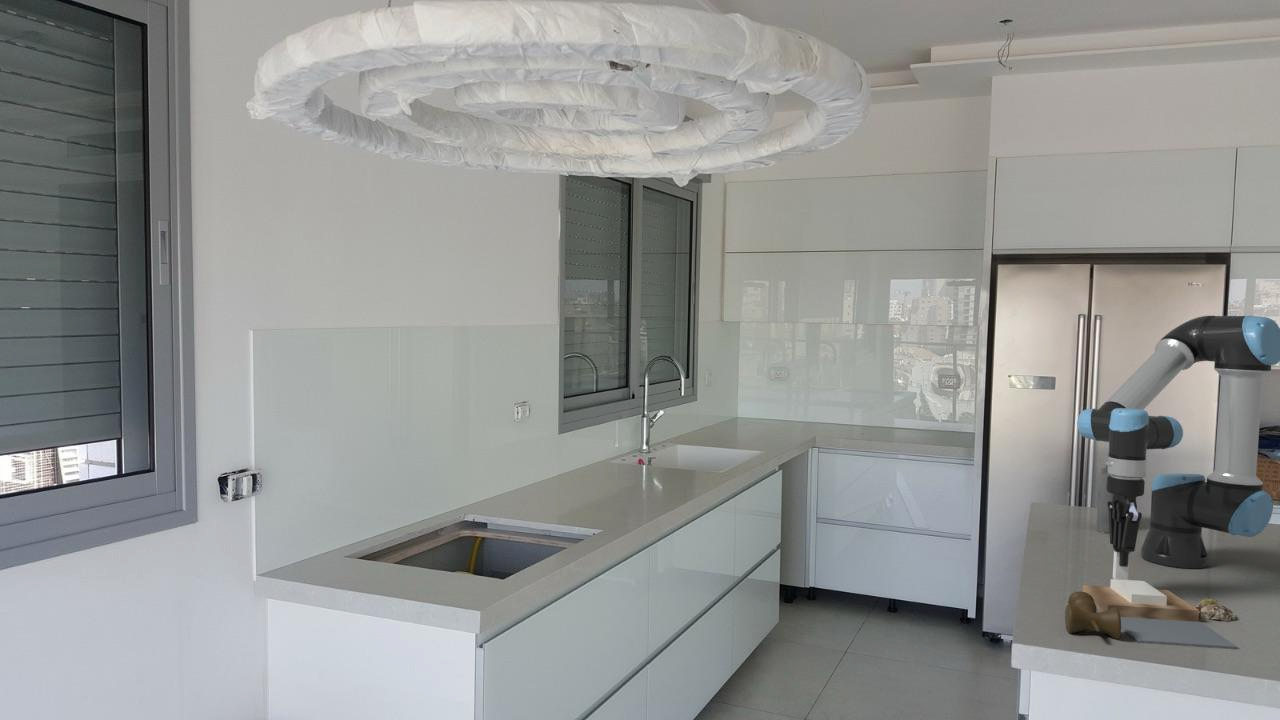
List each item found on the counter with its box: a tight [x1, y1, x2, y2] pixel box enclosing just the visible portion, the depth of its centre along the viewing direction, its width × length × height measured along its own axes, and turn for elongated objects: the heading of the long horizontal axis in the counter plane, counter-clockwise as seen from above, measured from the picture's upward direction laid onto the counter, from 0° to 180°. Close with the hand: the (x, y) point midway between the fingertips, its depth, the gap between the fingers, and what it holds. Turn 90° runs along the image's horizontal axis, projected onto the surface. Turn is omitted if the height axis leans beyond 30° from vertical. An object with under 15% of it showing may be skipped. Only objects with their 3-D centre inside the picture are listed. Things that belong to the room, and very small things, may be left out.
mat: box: [1121, 617, 1238, 650], centre depth 177 cm, size 18×14×1 cm
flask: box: [1096, 464, 1114, 534], centre depth 266 cm, size 15×6×20 cm, turn 150°
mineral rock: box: [1193, 597, 1238, 622], centre depth 189 cm, size 11×4×8 cm
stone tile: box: [1109, 578, 1167, 606], centre depth 192 cm, size 7×11×2 cm, turn 173°
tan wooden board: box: [1082, 584, 1200, 622], centre depth 191 cm, size 18×14×2 cm
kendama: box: [1064, 590, 1122, 640], centre depth 178 cm, size 6×10×20 cm
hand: (1120, 579), depth 201 cm, fingers closed
